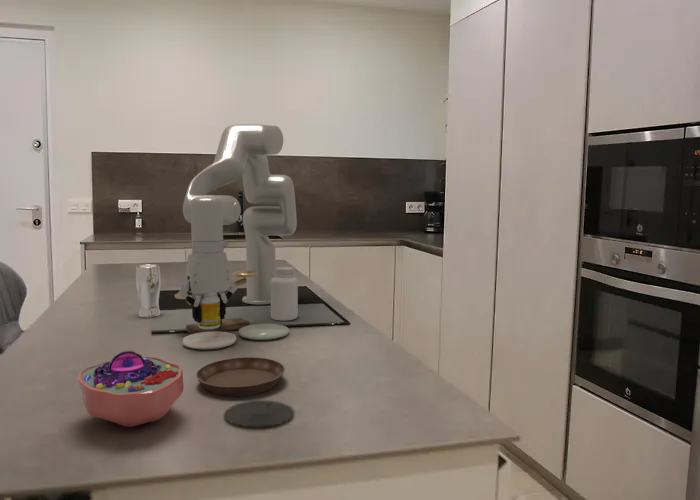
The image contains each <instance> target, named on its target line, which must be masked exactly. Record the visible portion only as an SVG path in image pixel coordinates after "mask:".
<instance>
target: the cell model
mask: <svg viewBox="0 0 700 500" xmlns="http://www.w3.org/2000/svg"><path fill="white" fill-rule="evenodd" d="M183 374H184V373H183V366H182V365H180V364H177V363H174V362H171V361H169V360H166V359H164V358H160V357H153V356H152V357H149V356H142V355H141V354H140V353H138V352H136V351H133V350H122V351H120V352H119V353H117V354H116V355H114V356H113V357H112V359H110V360H109V361H105V362H101V363H99V364H97V365H93V366H90V367H87V368H84V369H83V370H81V371H80V372H78V375H77V382H78V385H79V387H80V390H81V397H82V403H83V406H84V408H85V410H86V412H87V414H89V415H90V416H91V417H95V418H99V419H103V420H105V421H109V422H112V423H114V424H117V425H119V426H122V427H128V428H131V427H136V426H141V425H144V424H149V423H153V422H156V421H159V420H160V419H162V418H163V417H164V416H165V415H166V414H167V413H168V412H169V410H170V409H171V408H172V406H173V405H174V404H175V403H176V402H177V400H179V398H180V397H181V396H182V394H183V392H184V375H183Z"/></svg>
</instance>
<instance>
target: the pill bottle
mask: <svg viewBox="0 0 700 500" xmlns="http://www.w3.org/2000/svg"><path fill="white" fill-rule="evenodd" d="M275 273H276V274H275V275H276V277H273V278H272V279H271V304H270V318H271V319H272V320H274V321H284V322H285V321H293V320H295V319H298V314H299V312H298V311H299V310H298V309H299V307H298V305H299V303H298V301H299V299H298V298H299V297H298V295H299V293H298V291H299V286H298V279H297V277H295V276H293V275H294V267H292V266H291V267H290V266H277V267H275Z"/></svg>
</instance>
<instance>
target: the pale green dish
mask: <svg viewBox="0 0 700 500" xmlns="http://www.w3.org/2000/svg"><path fill="white" fill-rule="evenodd" d="M289 332H290V330H289V327H287V326H286V325H282V324H277V323H257V324H250V325H248V326H245V327H242V328H240V329H238V336H240V337H242V338H245V339H249V340H253V341H254V340H255V341H270V340H276V339H279V338H283V337H285V336H287V335H288V334H289Z"/></svg>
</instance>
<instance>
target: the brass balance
mask: <svg viewBox="0 0 700 500" xmlns="http://www.w3.org/2000/svg"><path fill="white" fill-rule="evenodd" d="M231 275H232V276H233V277H236V278H237V277H239V278H241V277H243V278H241V279H238V280H236V281H233V282H234V283H235V285H236V286H237V287H240V286H242V285H244V284H247V277H250V276H256V275H258V272H257V271H247V270H236V271H233V272H232V274H231ZM183 286H184V284H182V286H181V288H182V287H183ZM187 294H188V295H189V296H190V297H192V292H188V291H187ZM216 296H217V295H216ZM201 297H202V296H201ZM217 297H218V296H217ZM174 298H175V299H177V300H185V299H184V298H183V297H181V296H180V295H179V294H178V292H177V293H175V294H174ZM186 303H187V304H188V305H189V306H192V305H191V304H190V303H189V302H188V301H186ZM248 325H251V322H250V321H249V320H247V319H246V318H242V317H235V318H228V319H220V326H219V327H218V328H215V329H202V328H199V326H198V323H191V324H186V325H185V330H186V332H188V333H190V335H191V334H195V333H201V332H226V331H233V330H239V329H240V328H242V327H245V326H248Z"/></svg>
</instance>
